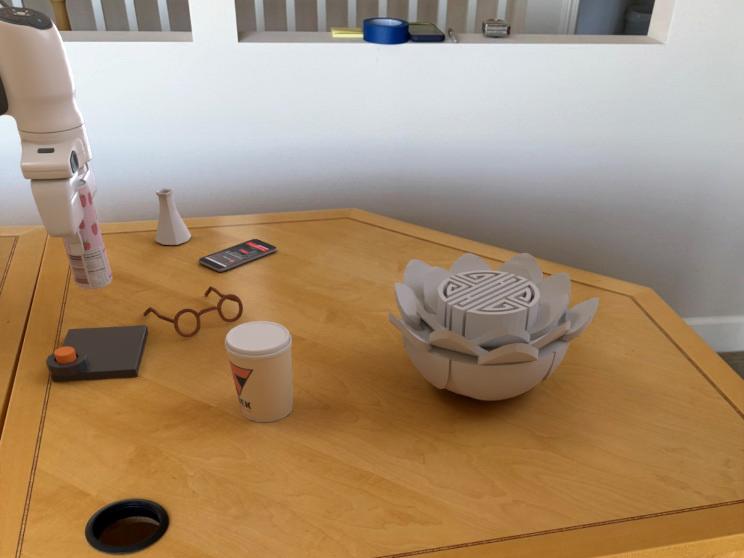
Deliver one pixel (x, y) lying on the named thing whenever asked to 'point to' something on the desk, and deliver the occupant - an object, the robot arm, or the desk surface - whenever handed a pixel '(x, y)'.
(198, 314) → the glasses
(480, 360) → the decorative bowl
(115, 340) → the scale
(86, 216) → the beverage can
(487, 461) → the desk surface
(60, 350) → the power button
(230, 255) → the smartphone
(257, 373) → the coffee cup
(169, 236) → the flask
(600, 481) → the desk surface
